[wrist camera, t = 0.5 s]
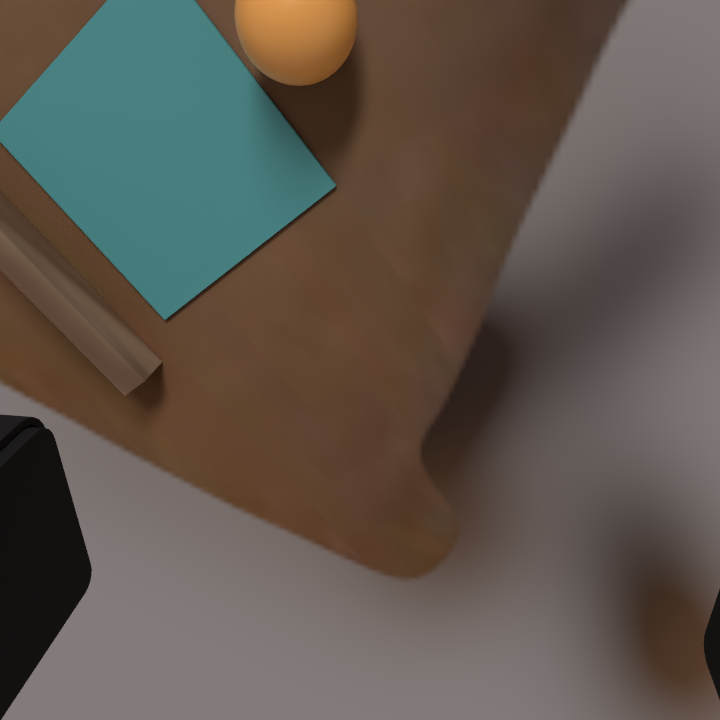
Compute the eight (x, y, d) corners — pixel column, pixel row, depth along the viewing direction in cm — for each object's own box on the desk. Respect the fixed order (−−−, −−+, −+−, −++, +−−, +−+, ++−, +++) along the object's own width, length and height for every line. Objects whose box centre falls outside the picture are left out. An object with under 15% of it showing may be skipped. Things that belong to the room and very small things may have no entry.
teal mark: (155, -52, 31) (153, -53, 31) (336, 185, 35) (335, 186, 35) (-7, 131, 37) (-9, 132, 37) (166, 318, 41) (164, 320, 41)
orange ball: (316, -76, 30) (286, -94, 25) (388, 30, 32) (373, 32, 27) (232, 8, 32) (190, 7, 27) (303, 103, 34) (275, 118, 29)
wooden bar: (-58, 129, 37) (-91, 136, 35) (162, 361, 42) (145, 380, 40) (-76, 151, 38) (-110, 159, 36) (142, 376, 43) (124, 395, 41)
